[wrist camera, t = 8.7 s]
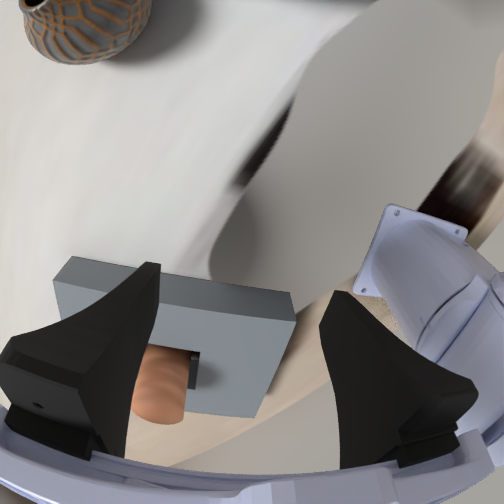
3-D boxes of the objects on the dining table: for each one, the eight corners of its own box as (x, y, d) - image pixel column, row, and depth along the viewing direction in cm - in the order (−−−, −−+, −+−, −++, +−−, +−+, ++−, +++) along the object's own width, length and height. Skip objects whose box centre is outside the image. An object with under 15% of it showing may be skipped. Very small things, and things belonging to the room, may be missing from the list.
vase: (106, 87, 15) (24, 92, 8) (53, 33, 13) (-31, 23, 5) (185, 13, 14) (147, -41, 6) (123, -37, 11) (66, -90, 3)
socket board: (289, 292, 24) (296, 321, 21) (252, 391, 30) (254, 418, 27) (71, 256, 21) (52, 280, 18) (92, 364, 28) (82, 388, 25)
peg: (194, 324, 25) (183, 403, 18) (192, 354, 27) (184, 427, 20) (149, 318, 25) (126, 393, 18) (151, 348, 26) (134, 419, 20)
